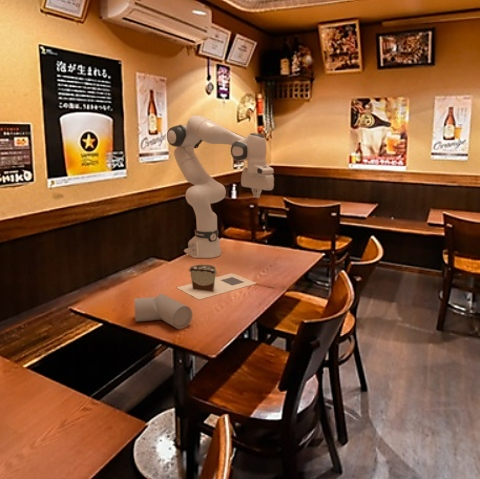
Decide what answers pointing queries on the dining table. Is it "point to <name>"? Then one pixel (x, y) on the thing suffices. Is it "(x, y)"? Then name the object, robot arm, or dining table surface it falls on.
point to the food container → (203, 277)
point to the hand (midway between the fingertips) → (256, 197)
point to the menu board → (219, 286)
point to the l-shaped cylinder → (163, 311)
